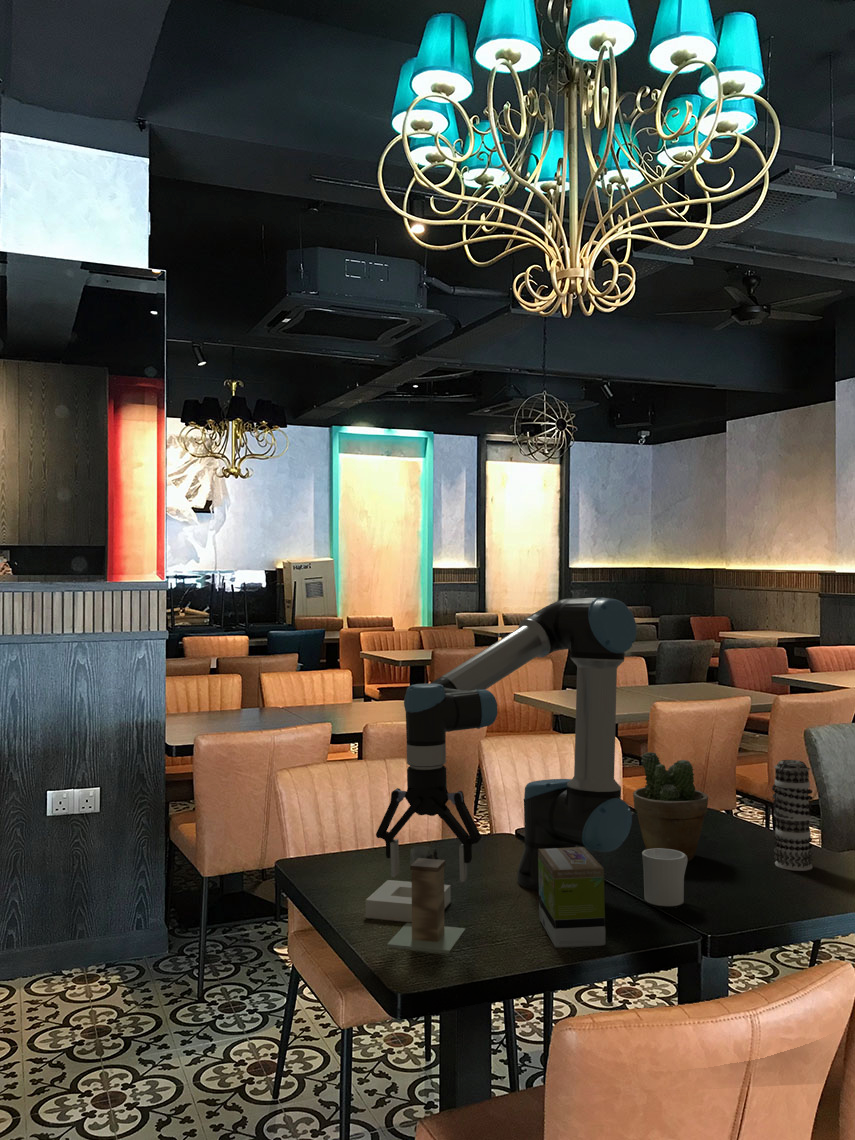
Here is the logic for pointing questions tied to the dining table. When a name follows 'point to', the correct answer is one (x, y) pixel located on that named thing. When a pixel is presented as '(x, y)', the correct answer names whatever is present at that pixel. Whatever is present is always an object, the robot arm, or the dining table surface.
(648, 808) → the potted plant
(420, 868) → the brown tall block
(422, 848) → the stone
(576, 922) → the tea box
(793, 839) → the decorative candle
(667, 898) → the mug
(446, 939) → the mat
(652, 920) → the dining table surface
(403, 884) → the white square platform
